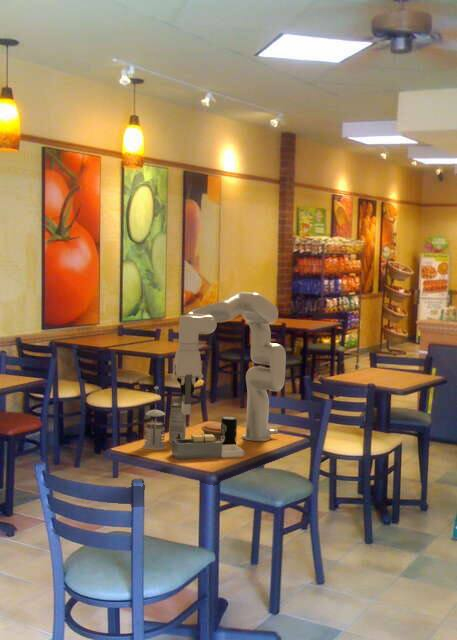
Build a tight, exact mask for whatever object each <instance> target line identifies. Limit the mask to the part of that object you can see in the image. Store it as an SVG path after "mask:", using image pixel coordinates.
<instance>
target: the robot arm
mask: <svg viewBox="0 0 457 640" xmlns="http://www.w3.org/2000/svg"><path fill="white" fill-rule="evenodd" d="M239 315H241V317H242V318H243V320H244V321H246V323H247V324H248V326H249V328H250V331H251V332H250V334H251V335H250V336H251V337H250V359H251V361H252V362H253V363H255V364H259V365H265V366H266V365H267V366H269V367H265V366H264V367H263V366H252V367H250V368H248V370H247V371H246V374H245V382H246V383H245V384H246V388H247V389H246V390H247V395H246V398H247V399H246V421H245V422H246V423H245V425H246V426H245V433H243V434H241V435H242V436H241V438H242V439H244V440H246V441H251V442H266V441H270V440H271V439H272V436H271V435H278V434H279V430H278V429H272V428H269V413H270V412H269V411H270V410H269V409H270V408H269V407H270V405H269V404H270V398H269V393H268V391H271V392H278V391H281V390H282V388H283V387H284V385H285V381H286V366H287V365H286V363H287V361H286V360H287V354H286V350H285V348H284V347H283V345H282V344H279V343H273V342H271V340H272V337H271V336H272V335H271V334H272V331H271V327H270V325H271V324H274V323H275V322H276V321H277V320H278V318H279V310H278V307H277V306H276V305H275V304H274V303H273V302H272V301H270V300H269V299H267V298H266V297H264V295H261V294H260V293H257V292H248V291H238V292H235V293H234V294H231V295H229V296H228V297H226V298H224V299H222V300H220V301H219V302H214V303H211V304H206V305H203V306H200V307H197V308H195V309H193V310H191V311H189V312H188V313H186V314H184V315H181V316H180V317H179V321H178V322H179V324H178V325H179V327H178V350H176V351H175V355H174V362H173V373H172V374H171V379H173V380H174V381H177V382H178V383H179V384H180V388H179V389H180V395H182V396H183V395H185V383H184V380H185V377H186V374H188V375H191V374H192V384H191V396H193V394H194V392H195V385H196V383H197V382H198V381H199V380H201V379H203V378H204V374H203V372H202V359H201V352H200V351H199V349H201V348H202V344H201V343H199V334H204V335H210V334H212V333H213V332H215V330H216V329H217V325H218V324H217V323H225V322H228V321H229V322H230V321H231V320H232V319H234V318H236V317H238V316H239Z"/></svg>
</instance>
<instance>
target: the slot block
mask: <svg viewBox="0 0 457 640" xmlns="http://www.w3.org/2000/svg"><path fill="white" fill-rule="evenodd" d="M217 440H218V439H217V438H215V442H204V443H191V438H185V439H172V445H171V456H173V457H174V458H175V459H176V460H196V459H216V458H217V459H218V458H222V442H221V441H217Z"/></svg>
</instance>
